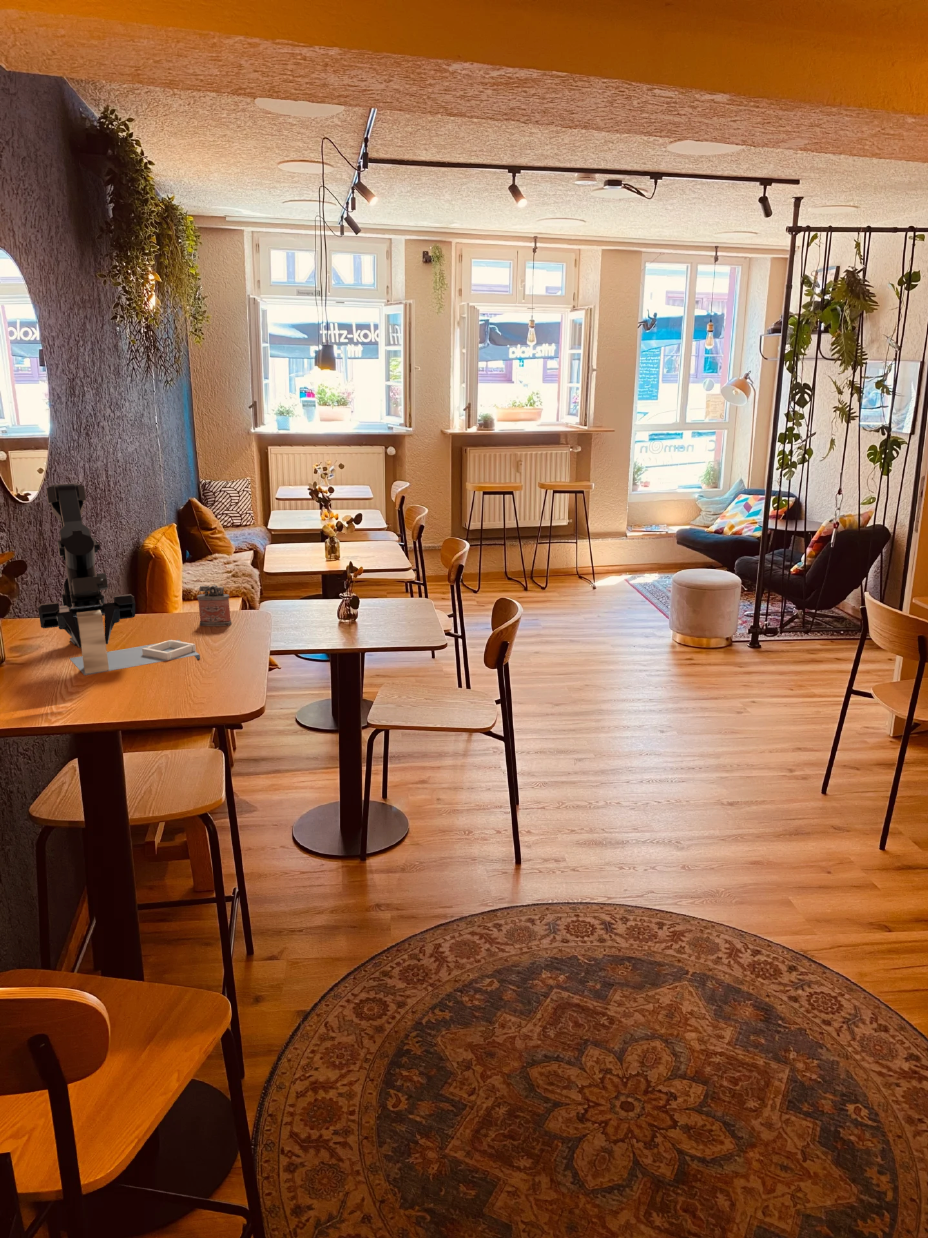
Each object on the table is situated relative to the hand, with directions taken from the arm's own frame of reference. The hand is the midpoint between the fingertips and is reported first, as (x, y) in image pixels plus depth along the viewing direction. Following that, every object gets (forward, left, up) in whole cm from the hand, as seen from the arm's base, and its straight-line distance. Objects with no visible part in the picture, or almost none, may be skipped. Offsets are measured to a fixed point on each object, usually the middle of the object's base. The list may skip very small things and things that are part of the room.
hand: (93, 645), depth 187 cm
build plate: (-6, +9, -7) cm, 13 cm away
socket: (-4, +16, -7) cm, 18 cm away
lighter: (-26, +34, -7) cm, 43 cm away
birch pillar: (-1, 0, -6) cm, 6 cm away
